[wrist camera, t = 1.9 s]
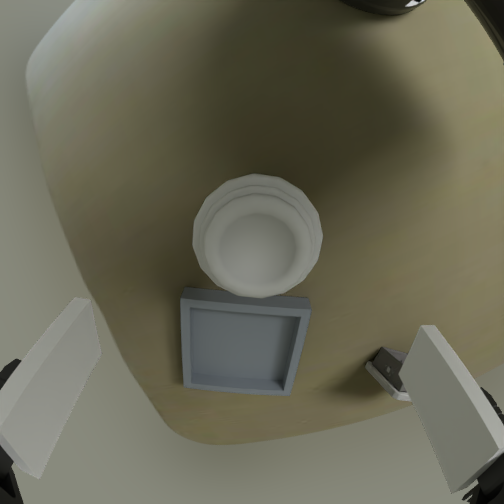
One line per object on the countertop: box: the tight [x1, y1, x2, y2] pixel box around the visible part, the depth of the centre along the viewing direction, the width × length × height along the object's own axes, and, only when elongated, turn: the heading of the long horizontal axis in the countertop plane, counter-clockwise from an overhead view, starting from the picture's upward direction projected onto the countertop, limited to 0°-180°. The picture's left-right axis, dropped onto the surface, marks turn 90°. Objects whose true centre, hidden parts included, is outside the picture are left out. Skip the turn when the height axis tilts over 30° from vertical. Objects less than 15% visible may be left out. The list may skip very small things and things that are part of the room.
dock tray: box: [180, 287, 312, 396], centre depth 36 cm, size 14×14×2 cm
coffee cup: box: [192, 173, 323, 298], centre depth 25 cm, size 9×9×12 cm
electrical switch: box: [365, 347, 411, 401], centre depth 35 cm, size 9×5×9 cm, turn 68°
